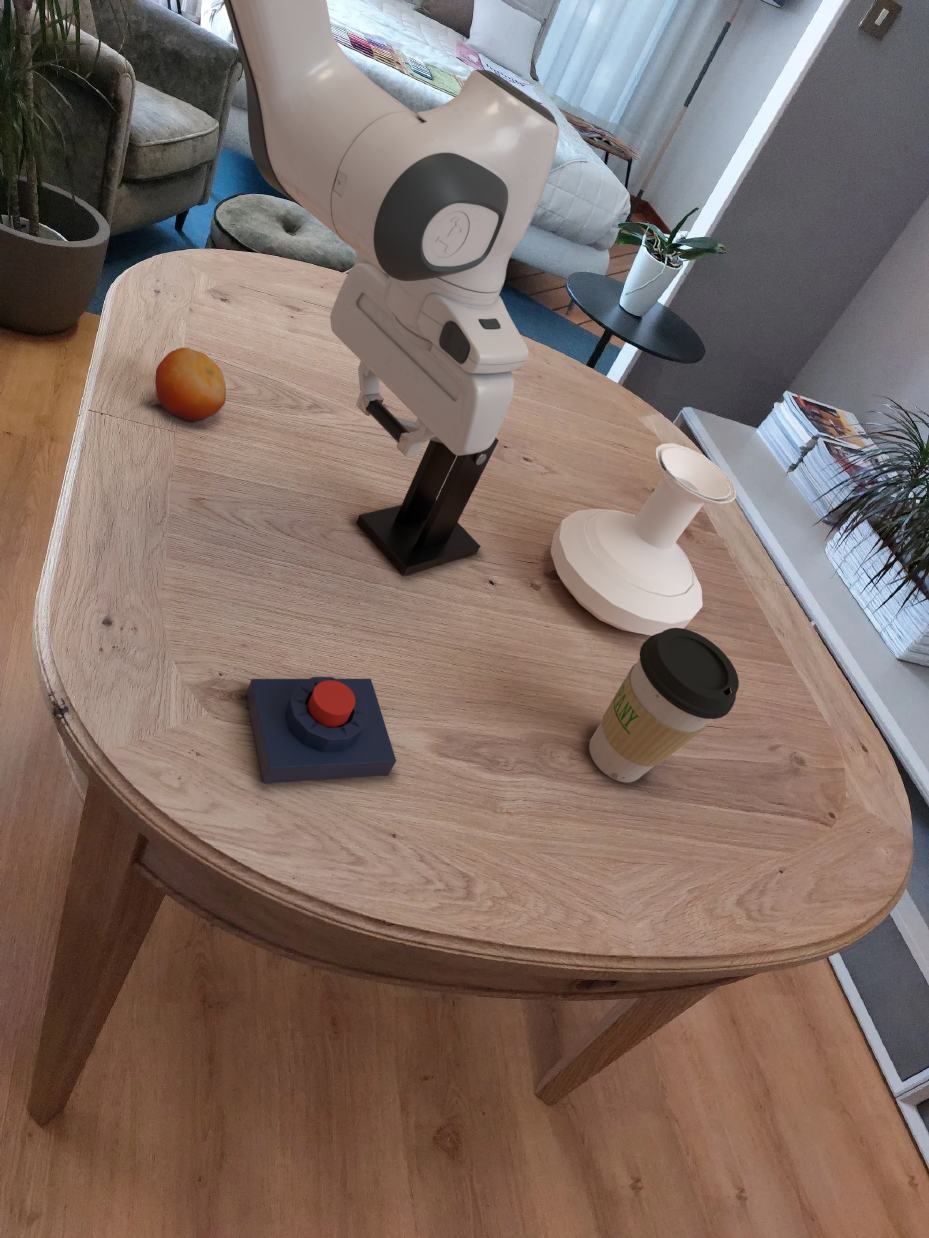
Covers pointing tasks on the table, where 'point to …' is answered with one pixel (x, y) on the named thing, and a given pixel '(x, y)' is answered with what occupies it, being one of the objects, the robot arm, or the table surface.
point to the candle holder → (642, 549)
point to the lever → (393, 421)
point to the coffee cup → (663, 703)
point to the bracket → (429, 512)
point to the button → (331, 703)
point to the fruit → (190, 385)
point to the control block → (316, 733)
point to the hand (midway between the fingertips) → (386, 431)
